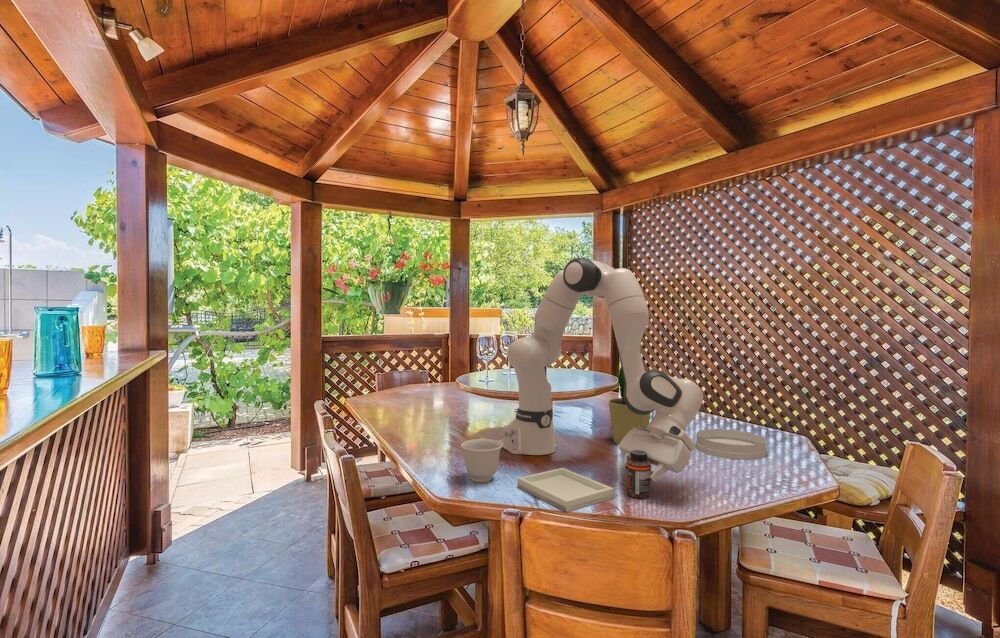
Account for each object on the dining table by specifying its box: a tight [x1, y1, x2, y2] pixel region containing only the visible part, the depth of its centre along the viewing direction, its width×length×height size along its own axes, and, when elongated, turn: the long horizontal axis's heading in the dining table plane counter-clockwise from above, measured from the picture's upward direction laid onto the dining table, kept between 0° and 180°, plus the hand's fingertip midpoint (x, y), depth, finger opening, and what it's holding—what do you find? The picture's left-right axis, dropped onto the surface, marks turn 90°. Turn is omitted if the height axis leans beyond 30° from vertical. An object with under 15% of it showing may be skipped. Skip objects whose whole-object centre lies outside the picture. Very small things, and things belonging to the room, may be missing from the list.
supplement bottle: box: [626, 450, 652, 499], centre depth 132 cm, size 6×6×11 cm
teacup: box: [460, 437, 503, 483], centre depth 145 cm, size 12×15×10 cm
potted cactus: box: [608, 365, 652, 445], centre depth 183 cm, size 15×15×30 cm
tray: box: [517, 467, 615, 513], centre depth 133 cm, size 20×16×2 cm
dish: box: [695, 428, 768, 461], centre depth 174 cm, size 22×22×5 cm
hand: (637, 474), depth 131 cm, fingers open, 8 cm apart
